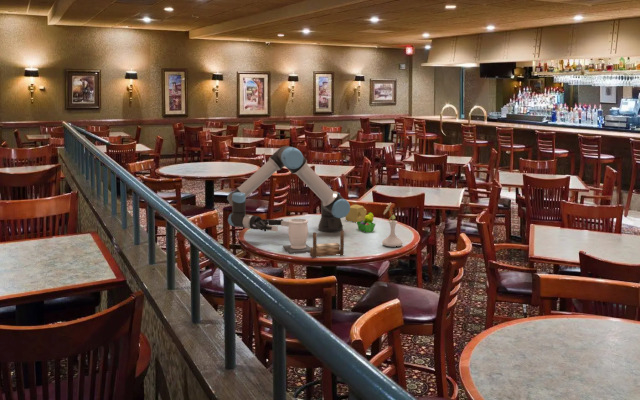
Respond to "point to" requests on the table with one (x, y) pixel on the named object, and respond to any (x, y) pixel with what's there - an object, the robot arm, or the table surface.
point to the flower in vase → (392, 238)
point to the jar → (298, 233)
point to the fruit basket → (367, 223)
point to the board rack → (327, 247)
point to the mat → (292, 251)
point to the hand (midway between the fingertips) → (284, 226)
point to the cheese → (356, 213)
